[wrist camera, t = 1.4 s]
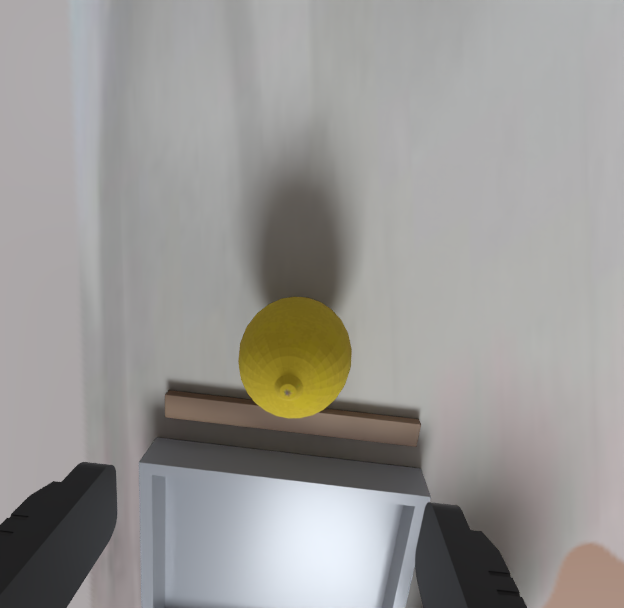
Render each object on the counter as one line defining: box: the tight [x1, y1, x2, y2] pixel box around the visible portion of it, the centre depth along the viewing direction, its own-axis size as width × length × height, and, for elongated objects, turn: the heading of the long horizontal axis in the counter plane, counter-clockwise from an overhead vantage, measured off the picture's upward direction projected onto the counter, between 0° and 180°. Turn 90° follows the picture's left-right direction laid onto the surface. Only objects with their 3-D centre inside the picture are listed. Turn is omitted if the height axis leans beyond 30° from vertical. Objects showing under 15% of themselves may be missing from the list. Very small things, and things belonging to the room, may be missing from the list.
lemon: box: [239, 297, 351, 418], centre depth 19 cm, size 6×6×8 cm
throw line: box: [165, 390, 421, 447], centre depth 24 cm, size 2×16×1 cm, turn 84°
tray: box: [139, 437, 431, 608], centre depth 27 cm, size 16×18×2 cm
